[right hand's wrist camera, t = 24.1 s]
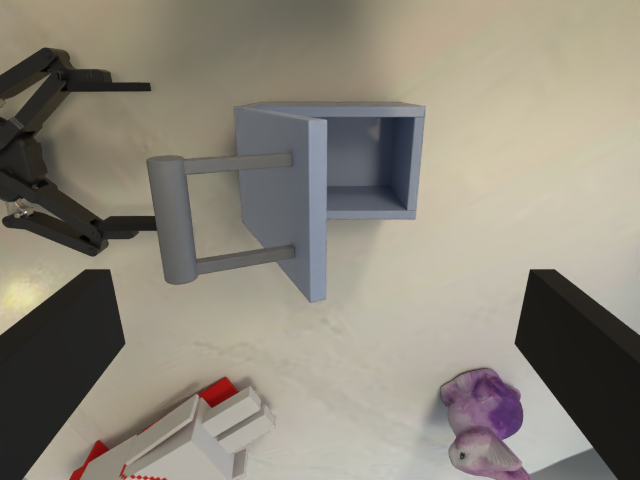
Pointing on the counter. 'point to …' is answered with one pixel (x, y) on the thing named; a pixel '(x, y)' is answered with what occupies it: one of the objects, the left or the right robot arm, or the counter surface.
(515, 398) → the figurine
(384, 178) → the chest
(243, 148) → the lid
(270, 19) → the counter surface
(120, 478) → the toy
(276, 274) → the counter surface
